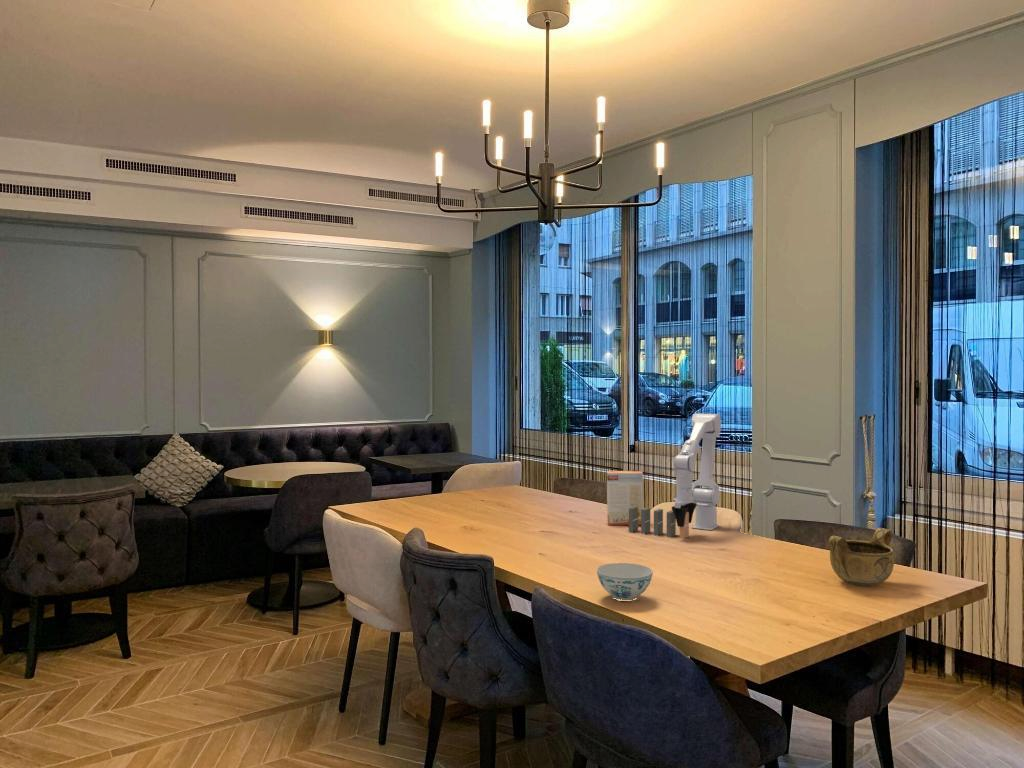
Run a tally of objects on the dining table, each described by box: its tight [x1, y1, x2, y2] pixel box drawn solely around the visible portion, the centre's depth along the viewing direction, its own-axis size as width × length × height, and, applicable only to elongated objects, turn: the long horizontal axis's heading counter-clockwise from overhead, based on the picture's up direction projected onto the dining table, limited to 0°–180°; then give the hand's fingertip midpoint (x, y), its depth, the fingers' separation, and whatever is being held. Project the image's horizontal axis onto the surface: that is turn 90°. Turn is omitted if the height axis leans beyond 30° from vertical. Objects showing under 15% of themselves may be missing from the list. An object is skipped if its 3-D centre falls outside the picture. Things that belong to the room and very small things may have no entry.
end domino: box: [628, 506, 639, 533], centre depth 292 cm, size 5×2×9 cm, turn 147°
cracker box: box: [606, 470, 644, 526], centre depth 304 cm, size 14×6×21 cm, turn 84°
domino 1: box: [640, 507, 651, 534], centre depth 289 cm, size 5×2×9 cm, turn 147°
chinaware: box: [596, 562, 654, 600], centre depth 208 cm, size 15×15×8 cm
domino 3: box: [666, 509, 677, 538], centre depth 284 cm, size 5×2×9 cm, turn 147°
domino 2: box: [653, 508, 664, 536], centre depth 286 cm, size 5×2×9 cm, turn 147°
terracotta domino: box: [679, 512, 690, 540], centre depth 281 cm, size 5×2×9 cm, turn 148°
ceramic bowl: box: [828, 527, 895, 588], centre depth 220 cm, size 22×17×15 cm
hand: (684, 524), depth 281 cm, fingers open, 7 cm apart
